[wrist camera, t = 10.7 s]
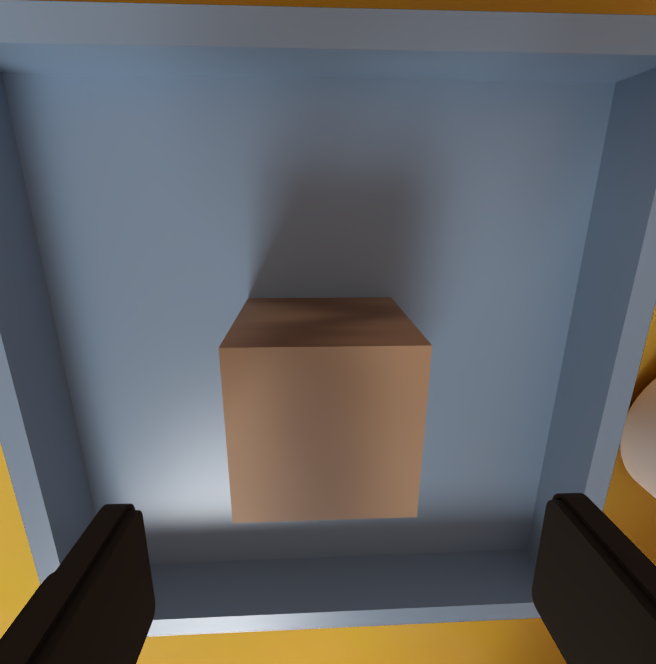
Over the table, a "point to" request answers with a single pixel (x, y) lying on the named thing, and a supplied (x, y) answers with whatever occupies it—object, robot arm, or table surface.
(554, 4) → the table surface
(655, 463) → the beverage can
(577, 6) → the table surface
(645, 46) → the slate tray
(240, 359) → the walnut block
